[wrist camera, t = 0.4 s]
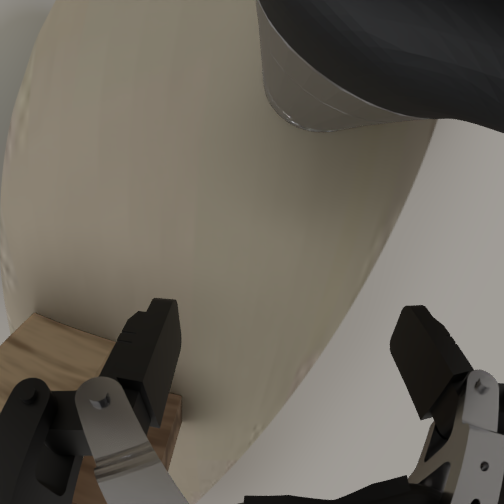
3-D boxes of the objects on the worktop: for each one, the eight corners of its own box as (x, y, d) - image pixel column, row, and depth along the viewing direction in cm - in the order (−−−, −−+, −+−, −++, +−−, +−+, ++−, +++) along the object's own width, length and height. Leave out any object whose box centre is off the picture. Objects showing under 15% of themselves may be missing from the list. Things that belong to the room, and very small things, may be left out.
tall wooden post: (122, 379, 36) (61, 506, 15) (181, 395, 36) (139, 539, 15) (128, 407, 38) (80, 520, 17) (181, 421, 38) (148, 546, 17)
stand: (34, 312, 33) (-92, 465, 2) (116, 342, 33) (-1, 563, 2) (44, 347, 35) (-58, 494, 4) (122, 377, 36) (34, 573, 4)
